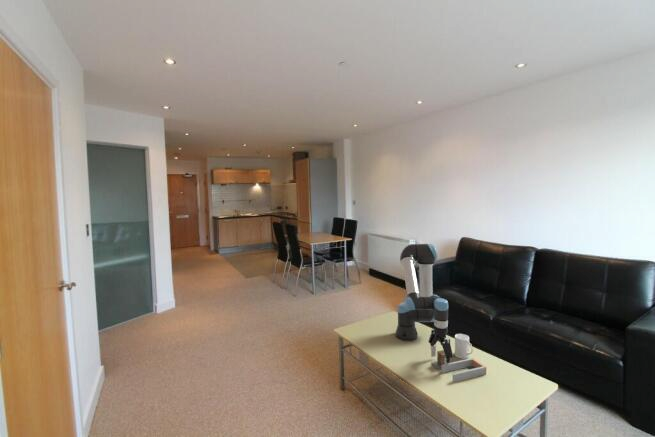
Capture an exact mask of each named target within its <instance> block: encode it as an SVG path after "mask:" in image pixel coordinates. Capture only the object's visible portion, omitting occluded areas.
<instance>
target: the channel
mask: <svg viewBox="0 0 655 437" xmlns="http://www.w3.org/2000/svg"><path fill="white" fill-rule="evenodd" d="M465 368H467V370H461V369H465ZM456 370H457V371H458V370H461V371H458V372H457V371H456ZM440 371H441V373H442V374H443V373H448V372H452V371H456V372H454V373H452V382H453V383H457V382H459V381H464V380H469V379H471V378H476V377H480V376H484V375H487V366H485V365H484V364H482V363H481V362H479V361H478V360H476V359H474V358H473V357H471V358H470V357H469V358H468V359H460V360H457V361H452V362H450V363H448V364H443V365H441V370H440Z"/></svg>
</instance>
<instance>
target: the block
mask: <svg viewBox="0 0 655 437" xmlns="http://www.w3.org/2000/svg"><path fill="white" fill-rule="evenodd" d="M436 353H437V354H436V359H437V363H438V364H439V365H440V366H441V365H443V364H445V356H446V355H445V353H444V350H443V349H442V350H436Z"/></svg>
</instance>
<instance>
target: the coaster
mask: <svg viewBox="0 0 655 437" xmlns="http://www.w3.org/2000/svg"><path fill="white" fill-rule="evenodd" d="M430 364H431V365H433V366H434V367H435V368H437V370H438V371H441V366H440V365H439V364H438V363H437V361H432V362H430Z"/></svg>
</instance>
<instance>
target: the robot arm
mask: <svg viewBox="0 0 655 437" xmlns="http://www.w3.org/2000/svg"><path fill="white" fill-rule="evenodd" d="M399 261H400V264H401V266H402V268H403V269H402V270H403V276H404V277H403V278H404V281H405V288H406V295H407V296H406V297H405V298H404V301H403V302H401V303H399V304H397V326H396V329H395V337H396V338H397V339H399V340H402V341H415V340H417V339H418V336H419V334H418V331H417V328H416V323H433V329H431V332H430V336H429V339H428V343H429V344H430V350H431V351H430V357H431V358H433V357H437V354H436V353H437V350H436V348H437V347H436V346H437V345H436V344H437V342H439V343H440V345H441V347H442V350H444V353H445V355H446V356H445V364H448V363H451V359H453V358H454V355H453V351H452V346H451V339H450V338H447V335H448V333H449V331H448V330H449V328H448V324H449V320H448V319H449V302H448V300H447V299H445V298H442V297H440V296H438V295H437V294H434V293H433V292H434V290H433V266H434V265H435V262H437V261H438V253H437V249H436V246H435V245H434V244H432V243H411V244H408V245H406V246H405V247H404V248H403V249H402V251H401V252H400V260H399ZM415 263H416V264H417V265H418V267H419V268H418V269H419V272H418V273H419V275H418V276H419V282H418V277H417V274H416V268H415Z"/></svg>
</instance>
